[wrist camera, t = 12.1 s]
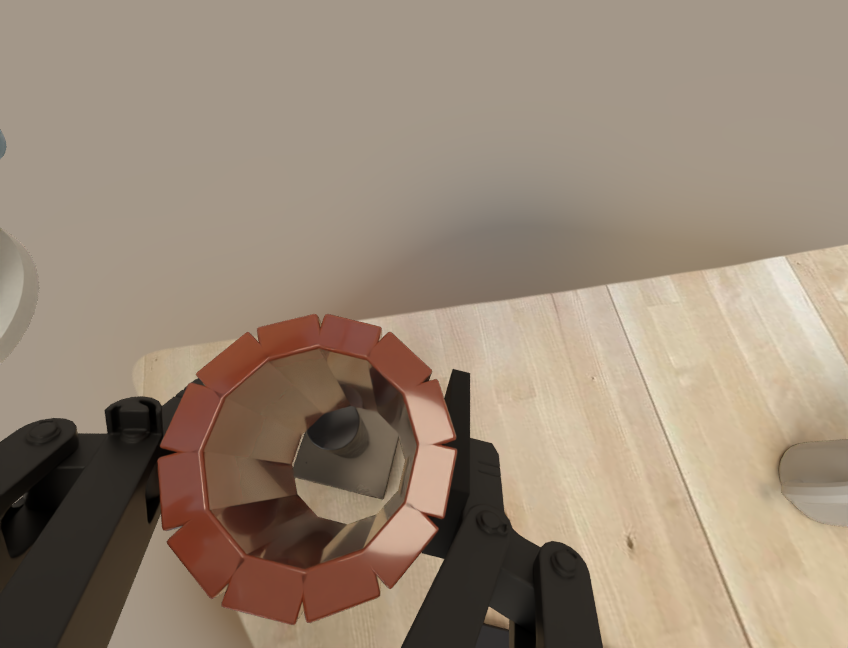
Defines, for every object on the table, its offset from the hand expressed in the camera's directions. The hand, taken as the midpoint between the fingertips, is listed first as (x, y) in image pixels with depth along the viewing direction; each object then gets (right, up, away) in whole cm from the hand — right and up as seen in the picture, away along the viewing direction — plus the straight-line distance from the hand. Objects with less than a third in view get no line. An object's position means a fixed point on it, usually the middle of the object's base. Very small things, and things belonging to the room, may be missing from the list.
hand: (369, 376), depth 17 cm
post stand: (-4, -8, +19) cm, 21 cm away
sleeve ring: (-1, -4, +1) cm, 4 cm away
